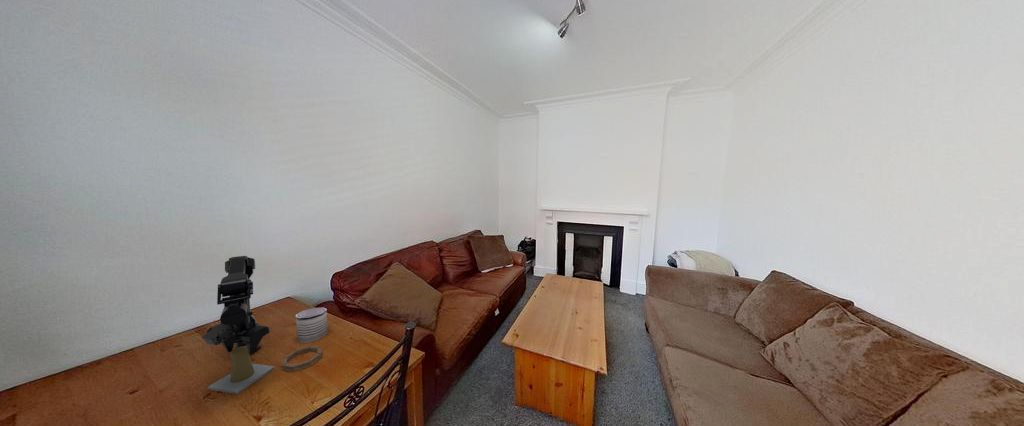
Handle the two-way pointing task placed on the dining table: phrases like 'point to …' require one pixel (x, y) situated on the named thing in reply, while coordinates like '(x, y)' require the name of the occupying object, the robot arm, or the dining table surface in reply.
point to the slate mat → (237, 387)
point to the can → (311, 324)
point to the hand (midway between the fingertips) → (240, 353)
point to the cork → (241, 364)
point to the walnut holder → (302, 365)
